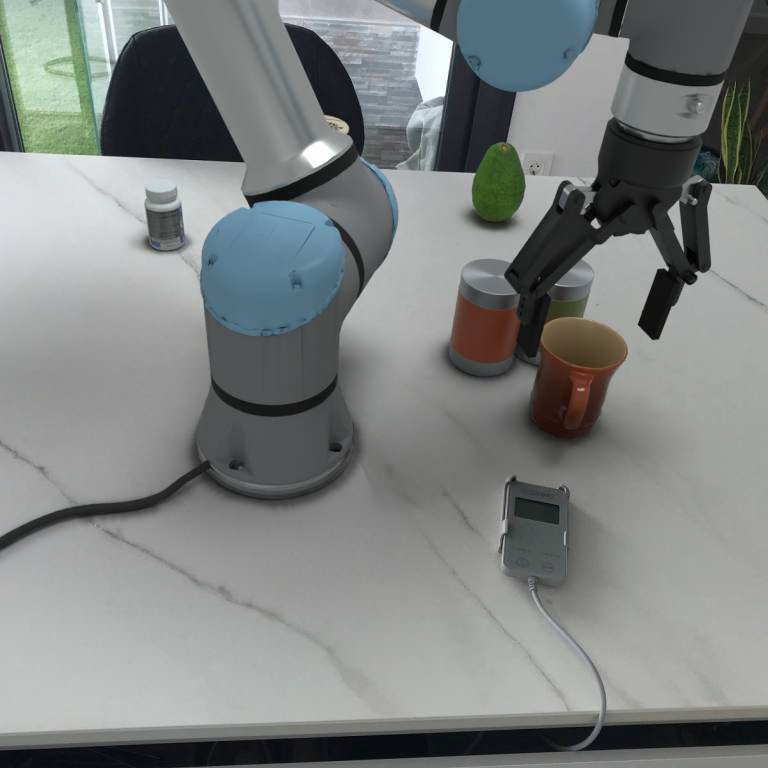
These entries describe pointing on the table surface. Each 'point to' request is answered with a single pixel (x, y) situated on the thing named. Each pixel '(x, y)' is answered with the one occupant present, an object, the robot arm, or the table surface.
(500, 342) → the tins
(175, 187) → the pill bottle
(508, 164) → the fruit
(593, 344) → the mug
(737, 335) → the table surface
